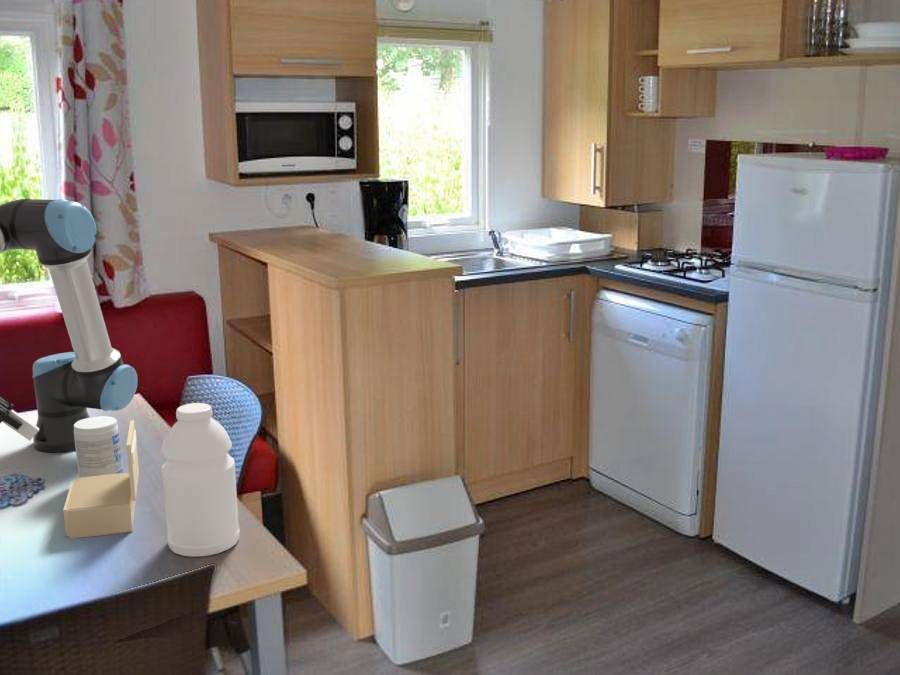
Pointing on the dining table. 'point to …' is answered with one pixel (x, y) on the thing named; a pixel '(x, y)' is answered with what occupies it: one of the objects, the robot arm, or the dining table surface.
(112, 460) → the supplement tub
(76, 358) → the robot arm
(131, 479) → the flap
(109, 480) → the carton
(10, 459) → the dining table surface
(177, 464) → the bottle
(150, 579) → the dining table surface
